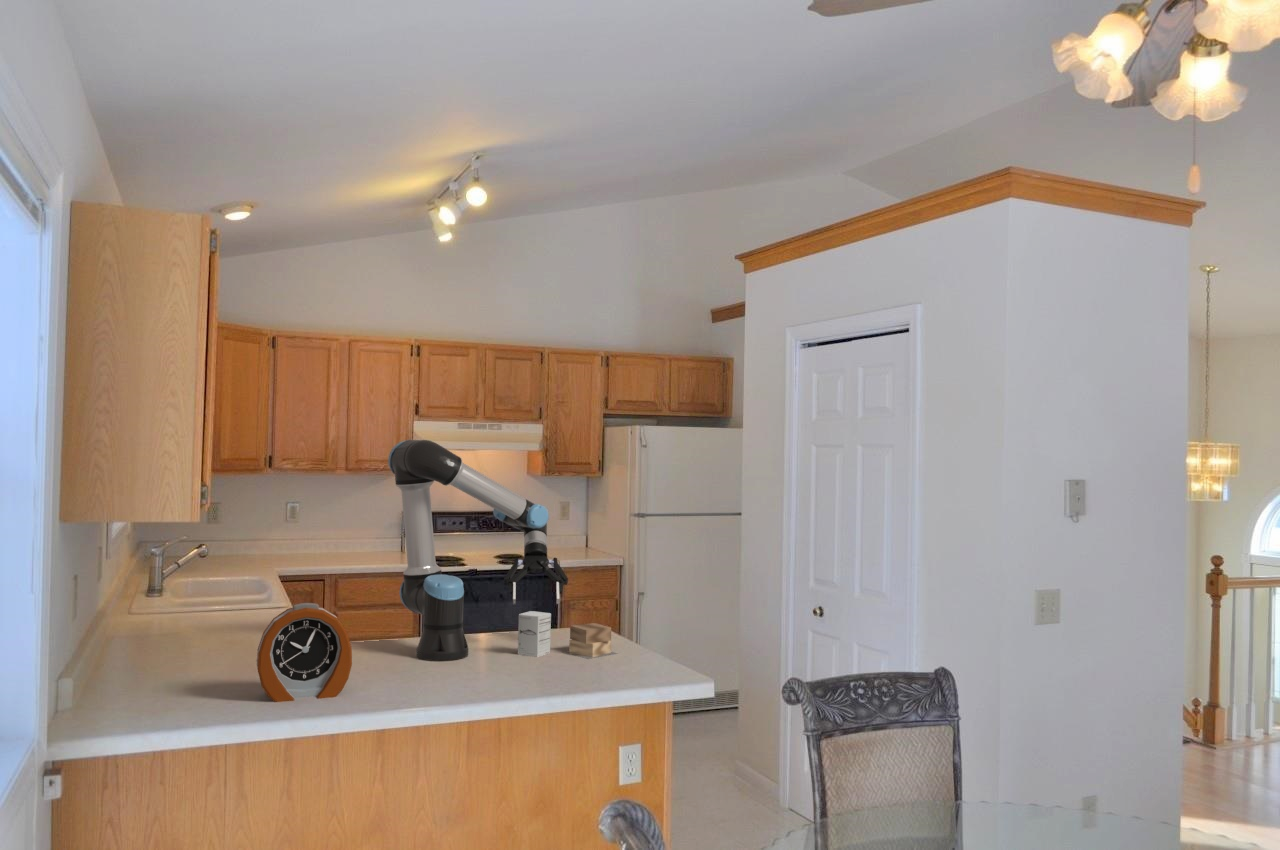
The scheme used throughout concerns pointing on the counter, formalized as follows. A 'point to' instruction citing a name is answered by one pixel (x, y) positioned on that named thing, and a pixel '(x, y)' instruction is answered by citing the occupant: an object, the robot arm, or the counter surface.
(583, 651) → the bottom block
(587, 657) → the slate mat
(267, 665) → the alarm clock
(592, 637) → the top block
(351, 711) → the counter surface
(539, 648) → the supplement box
